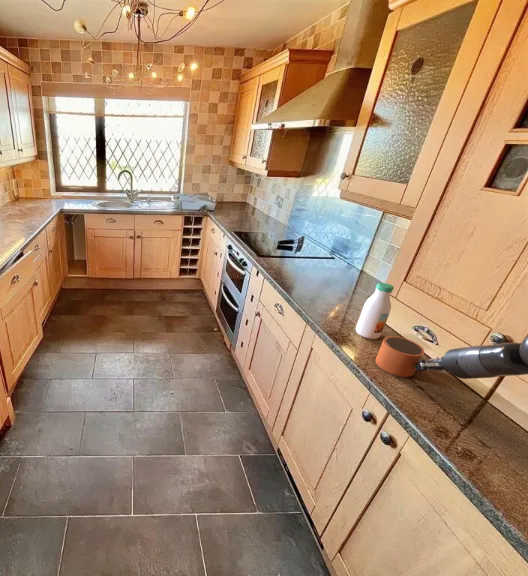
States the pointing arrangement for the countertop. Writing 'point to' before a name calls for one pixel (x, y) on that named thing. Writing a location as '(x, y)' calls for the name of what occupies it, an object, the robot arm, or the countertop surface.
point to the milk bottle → (375, 312)
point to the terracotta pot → (399, 356)
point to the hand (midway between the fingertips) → (417, 367)
